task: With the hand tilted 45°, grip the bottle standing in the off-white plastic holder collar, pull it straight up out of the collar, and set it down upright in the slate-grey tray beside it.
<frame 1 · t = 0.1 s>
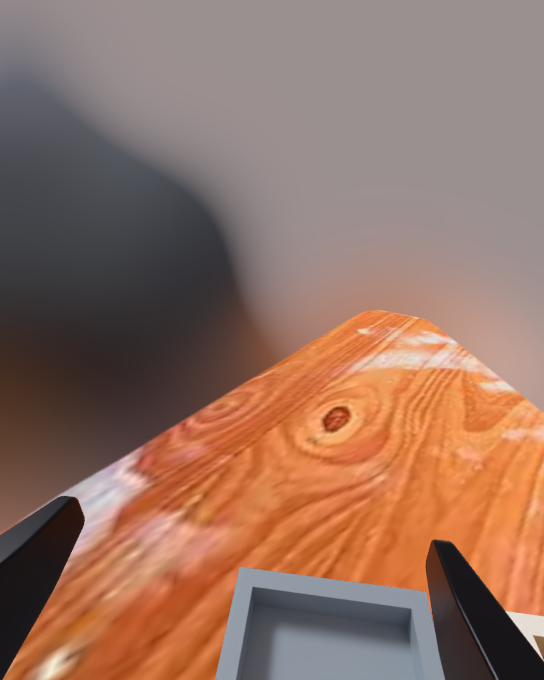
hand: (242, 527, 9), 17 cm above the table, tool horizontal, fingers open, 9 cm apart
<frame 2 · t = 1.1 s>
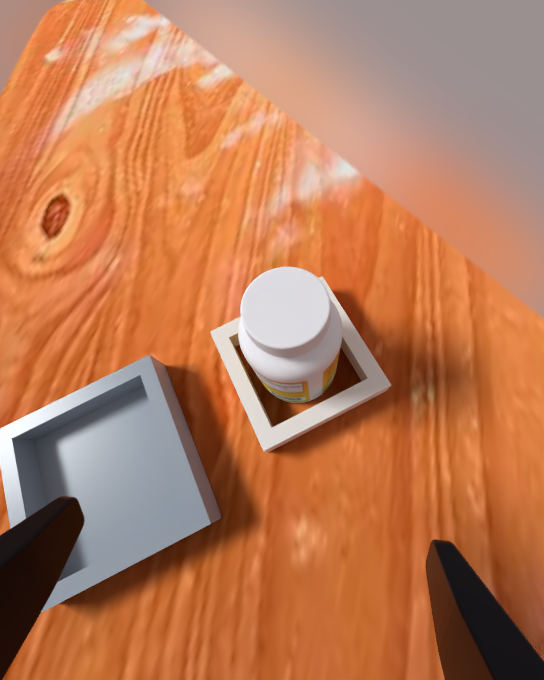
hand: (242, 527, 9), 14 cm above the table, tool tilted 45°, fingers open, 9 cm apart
holder collar: (296, 365, 24), on the table
tray: (116, 472, 23), on the table
supplement bottle: (297, 366, 24), resting in holder collar
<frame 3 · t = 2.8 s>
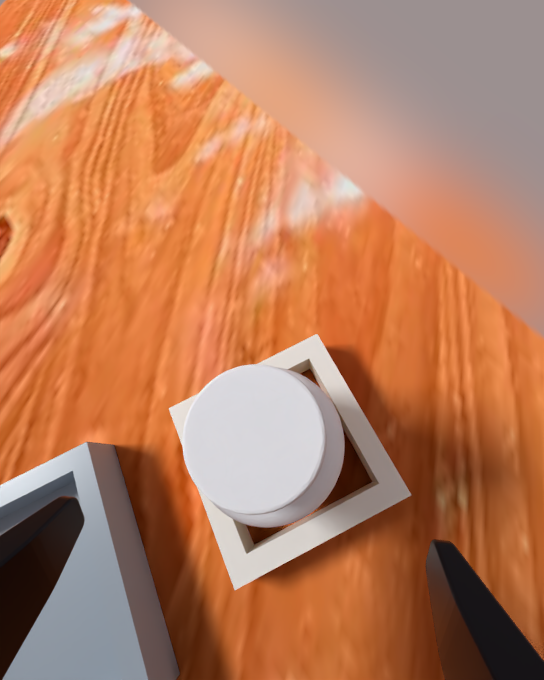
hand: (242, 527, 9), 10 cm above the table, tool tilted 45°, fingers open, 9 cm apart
holder collar: (284, 450, 18), on the table
tray: (43, 598, 17), on the table
supplement bottle: (284, 450, 19), resting in holder collar
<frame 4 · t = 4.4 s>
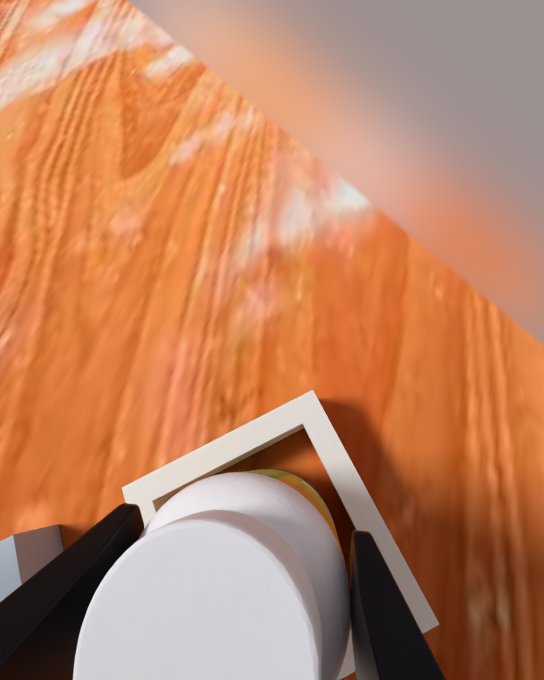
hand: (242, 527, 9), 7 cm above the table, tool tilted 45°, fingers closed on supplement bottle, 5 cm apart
holder collar: (270, 537, 14), on the table
supplement bottle: (271, 536, 15), resting in holder collar, touching gripper
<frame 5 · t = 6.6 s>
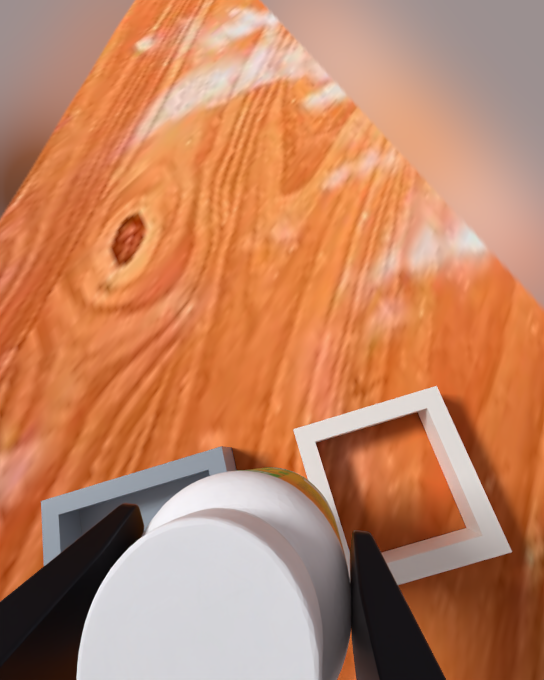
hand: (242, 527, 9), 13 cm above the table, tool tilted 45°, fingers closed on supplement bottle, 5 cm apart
holder collar: (386, 482, 20), on the table
tray: (164, 568, 20), on the table
supplement bottle: (273, 534, 15), point 6 cm above the table, touching gripper
when the fingers open (8 cm above the table, at t = 8.8 s): supplement bottle stays where it is, resting on tray.
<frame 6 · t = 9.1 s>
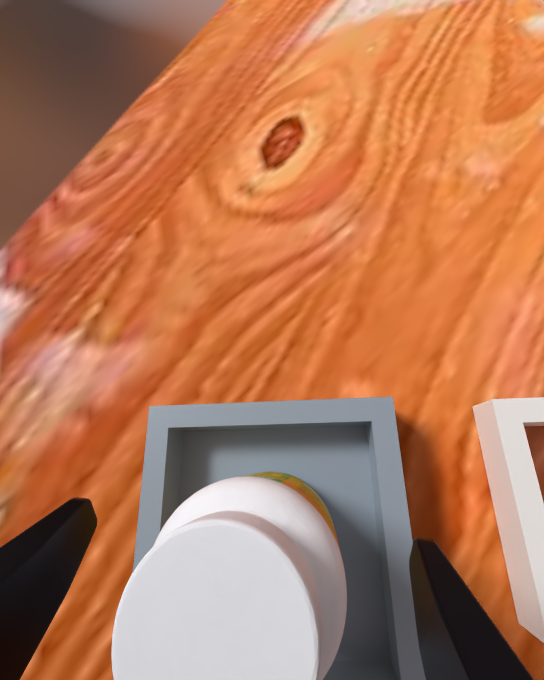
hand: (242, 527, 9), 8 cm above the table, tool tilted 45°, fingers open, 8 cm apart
tray: (275, 529, 16), on the table
supplement bottle: (274, 534, 16), resting on tray
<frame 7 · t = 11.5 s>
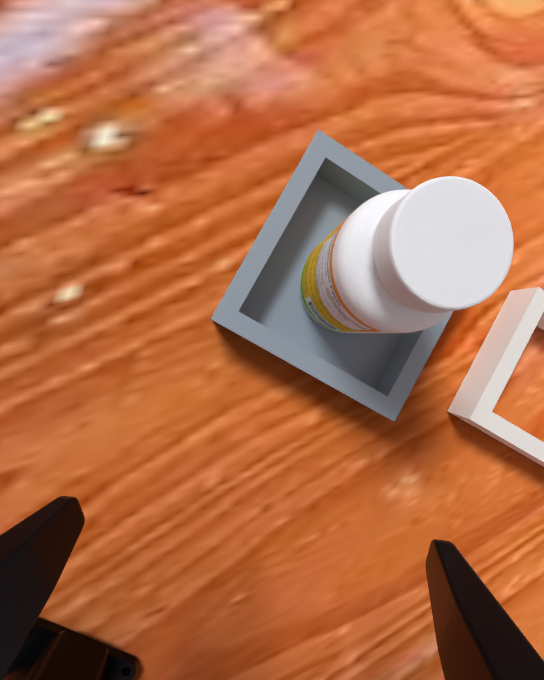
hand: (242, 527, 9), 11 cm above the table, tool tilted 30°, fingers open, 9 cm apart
holder collar: (531, 383, 22), on the table
tray: (341, 285, 20), on the table
supplement bottle: (342, 286, 20), resting on tray
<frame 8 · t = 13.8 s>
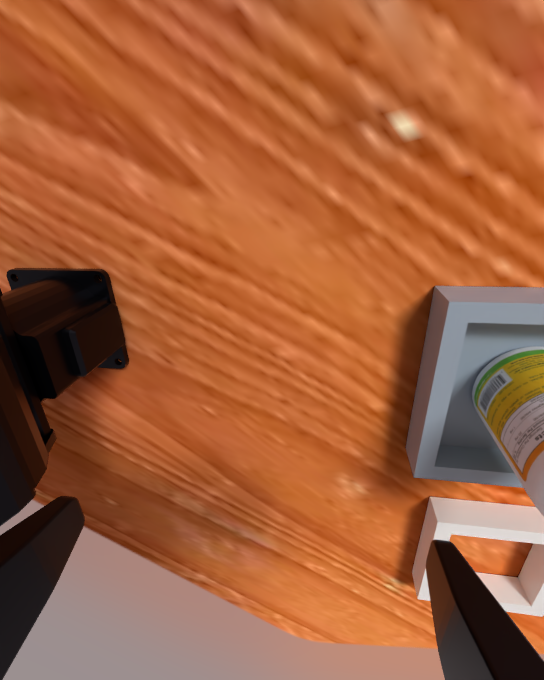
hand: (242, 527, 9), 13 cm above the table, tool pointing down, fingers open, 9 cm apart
holder collar: (481, 543, 26), on the table
tray: (520, 381, 20), on the table
supplement bottle: (520, 385, 19), resting on tray
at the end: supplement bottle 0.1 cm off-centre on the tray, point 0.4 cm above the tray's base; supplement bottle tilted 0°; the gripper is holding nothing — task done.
